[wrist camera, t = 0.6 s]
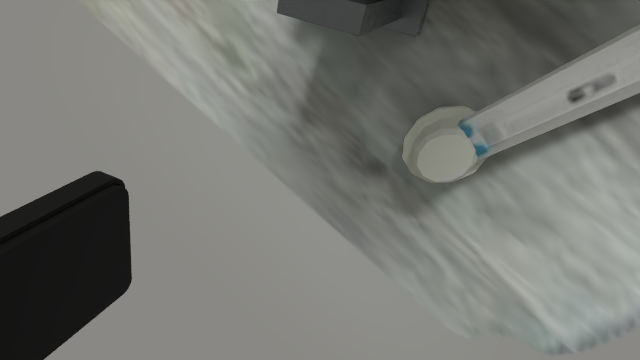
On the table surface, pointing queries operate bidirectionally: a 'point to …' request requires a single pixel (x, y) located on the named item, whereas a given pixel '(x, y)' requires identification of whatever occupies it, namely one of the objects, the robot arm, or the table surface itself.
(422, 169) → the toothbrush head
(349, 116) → the table surface
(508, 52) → the table surface
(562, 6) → the table surface
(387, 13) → the collar bracket
